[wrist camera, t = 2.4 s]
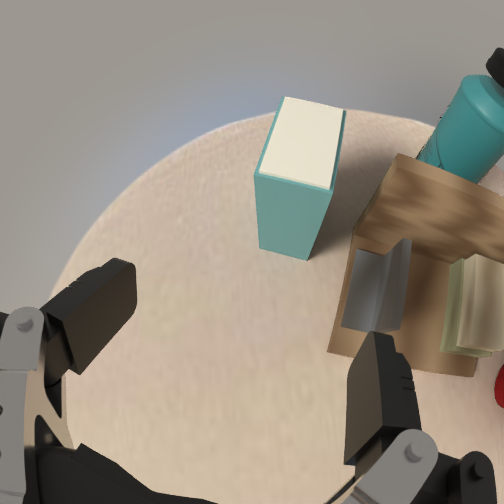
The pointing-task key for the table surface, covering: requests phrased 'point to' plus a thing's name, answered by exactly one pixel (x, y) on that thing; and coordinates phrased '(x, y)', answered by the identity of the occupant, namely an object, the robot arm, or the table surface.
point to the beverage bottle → (471, 126)
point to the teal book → (297, 175)
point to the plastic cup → (500, 388)
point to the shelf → (426, 270)
